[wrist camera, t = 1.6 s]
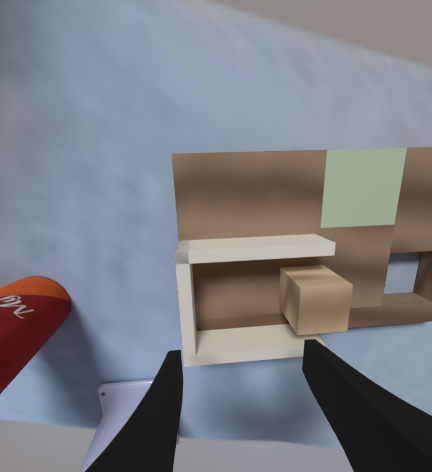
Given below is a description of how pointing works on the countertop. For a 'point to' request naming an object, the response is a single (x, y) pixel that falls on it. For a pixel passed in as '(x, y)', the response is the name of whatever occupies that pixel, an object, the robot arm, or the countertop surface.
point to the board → (297, 223)
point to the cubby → (248, 338)
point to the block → (314, 299)
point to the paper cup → (28, 321)
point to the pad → (362, 187)
